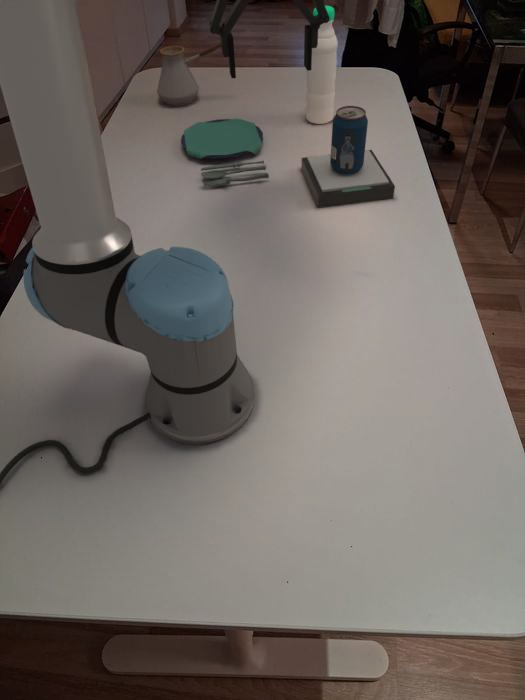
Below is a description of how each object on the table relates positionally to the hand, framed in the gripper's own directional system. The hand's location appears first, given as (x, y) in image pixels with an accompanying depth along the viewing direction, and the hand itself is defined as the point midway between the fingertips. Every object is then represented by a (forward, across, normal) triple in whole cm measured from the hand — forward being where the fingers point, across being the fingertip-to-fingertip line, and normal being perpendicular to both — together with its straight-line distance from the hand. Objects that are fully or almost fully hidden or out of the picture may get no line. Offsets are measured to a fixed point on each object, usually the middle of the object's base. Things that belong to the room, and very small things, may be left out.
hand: (270, 71), depth 96 cm
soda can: (+22, -16, -1) cm, 27 cm away
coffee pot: (+25, +12, -53) cm, 60 cm away
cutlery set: (+25, +8, -20) cm, 33 cm away
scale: (+25, -16, -1) cm, 29 cm away
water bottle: (+25, -18, -33) cm, 45 cm away
